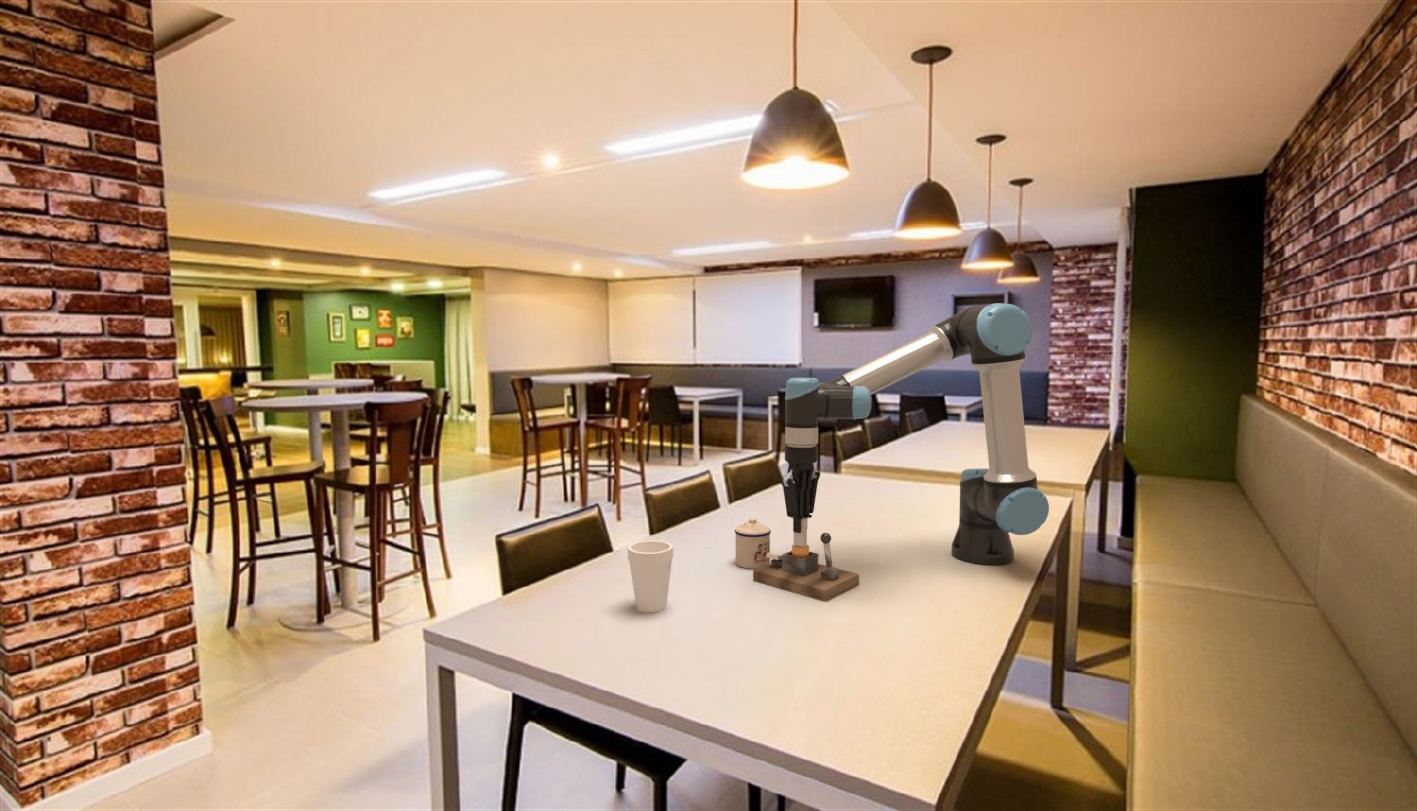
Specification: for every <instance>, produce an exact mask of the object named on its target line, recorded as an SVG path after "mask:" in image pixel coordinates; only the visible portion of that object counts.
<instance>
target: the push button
mask: <svg viewBox="0 0 1417 811" xmlns="http://www.w3.org/2000/svg"><path fill="white" fill-rule="evenodd" d="M791 551H792V556H795V557H799V558H806V557H808V556H809V552H810V545H808V544H807V546H805V547H800V546H796V545H793V544H792V545H791Z"/></svg>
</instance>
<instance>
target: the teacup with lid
mask: <svg viewBox="0 0 1417 811" xmlns="http://www.w3.org/2000/svg"><path fill="white" fill-rule="evenodd" d="M771 532H772V531H771V528H770V527H769V526H768V525H766V524H762V523H760V522H759V521H758V519H757V518H756V517H750V518H748V521H747V522H744V523H743V524H740V525H738V526H736V527H735V529H734V533H735V565H736V566H738V567H739V568H742V567H743V569H747V568H748V569H749V570H755V569H757V568H760V567H762V566H765V565H768V564H770V563H771V560H770V559H771V558H768V557H766V555H767V553H771V549H770V548H771V546H770V544H771V542H770V541H771Z"/></svg>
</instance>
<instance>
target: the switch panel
mask: <svg viewBox="0 0 1417 811" xmlns="http://www.w3.org/2000/svg"><path fill="white" fill-rule="evenodd" d="M786 552H787V551H786ZM752 581H754V582H756V583H760V584H764V585H768V586H770V587H774V588H777V589H781V590H785V591H787V592H792V593H795V594H798V595H802V596H805V597H809V598H812V599H815V600H819V601H821V602H822V601H823V602H824V603H825V602H828V601H830V600H832V599H834V598H836V597H838V596H840V595H842V594H844V593H846V592H847V591H849V590H851V589H853V588H856V587H857V586H859V585H860V573H856V572H851V571H848V570H844V569H840V568H837V567H836V568H835V567H833V566H832V568H831V569H828V568H827V567H826V564H825V565H824V564H820V563H819V553H817V552H813V551H809V556H808V557H806V558H799V557H795V556H792V550H791V551H788V552H787V553H785V554H782V559H781V560H775V559H772V558H771V560H770V564H768V565H765V566H762V567H760V568H757V569H752Z"/></svg>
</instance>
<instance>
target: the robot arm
mask: <svg viewBox="0 0 1417 811" xmlns="http://www.w3.org/2000/svg"><path fill="white" fill-rule="evenodd" d="M1032 325H1033V324H1032V321H1031V319H1030V317H1029V316H1028V314H1027V312H1025V310H1023V309H1022V308H1021V307H1019V306H1018V305H1015V304H1011V303H1002V302H1000V303H999V302H998V303H996V302H995V303H992V304H991V303H990V304H983V305H974V306H969V307H967V308H965V309H963V310H961V311H959V312H956V313H955V314H953V315H952V316H949V317H948V318H946V319H945V320H942V321H940V322H939V323H937V324H935V325H933V326H931V327H930V328H929V332H927V333H926V334H924V335H922V336H920V337H917V338H916V339H913V340H911V341H909V342H907V343H906V344H903V345H901V346H899V347H897V348H895V349H893V350H891V351H889V352H887V353H885V354H883V355H881V356H879V357H876V358H874V359H872V360H871V361H869V362H867V363H864V364H862V365H861V366H858V367H856V368H854V369H852V370H850V371H848V372H846V373H844V374H842V375H840V376H838V377H836V378H834V379H831V380H830V381H823V382H820V383H819V380H818V378H815V377H791V378H788V380H786V383H785V396H784V400H785V401H784V402H785V404H784V405H785V407H784V408H785V409H784V410H785V411H784V412H785V414H784V416H785V417H784V418H785V421H784V422H785V424H784V425H785V428H784V430H785V431H784V432H785V433H784V436H785V437H784V443H785V444H787V445H785V446H784V461H785V462H787V463H788V467H787V471H786V472H787V474H786V475H785V477H781V478H780V483H781V486H782V489H783V495H784V496H783V498H784V503H785V510H786V517H789V518H792V525H793V526H792V527H793V528H792V531H793V544H792V545H796V546H800V547H805V546H807V545H808V539H807V538H808V519H811V518H812V516H813V515H812V514H814V510H815V504H816V497H817V491H818V484H819V481H820V477H821V472H820V471H816V470H815V464H816V463H817V462H818V450H819V449H818V447H817V444H818V443H819V420H826V419H827V420H832V419H833V420H853V421H854V420H857V419H860V420H861V419H866V418H868V417H869V416H870V414H871V410H872V402H873V401H872V395H873V394H875V393H877V392H879V391H881V390H883V389H886V388H888V387H890V386H892V385H893V384H895V383H897V382H900V381H902V380H904V379H906V378H908V377H910V376H912V375H914V374H916V373H918V372H921V371H922V370H925V369H926V368H928V367H930V366H932V365H934V364H937V363H939V362H940V361H946V362H950V361H952V360H954V359H956V358H958V357H962V356H966V355H970V359H971V360H970V361H971V366H973V367H974V368H975V369H977V370H978V372H979V380H980V390H981V391H980V392H981V400H982V409H983V411H982V412H983V421H984V430H985V439H986V440H985V441H986V449H987V450H986V451H987V458H988V468H966V469H963V470H962V471H961V474H960V480H959V486H960V487H959V517H958V518H959V522H958V523H959V524H958V527H957V530H956V532H955V535H954V538H953V541H952V543H951V547H950V548H951V551H950V553H951V555H952V556H953V557H954V558H956V559H959V560H961V561H964V562H967V563H973V564H978V565H985V566H986V565H988V566H990V565H991V566H993V565H994V566H995V565H997V566H998V565H1006V564H1010V563H1012V562H1013V561H1014V559H1015V549H1014V547H1013V544H1012V539H1011V536H1010V534H1013V535H1017V536H1027V535H1030V534H1032V533H1034V532H1037V531H1038V530H1039V529H1040V528H1041V526H1042V525H1043V524H1044V523H1045V522H1046V521H1047V519H1048V516H1049V512H1050V504H1049V501H1048V498H1047V497H1046V495H1045V494H1044V492H1042V491H1041V490H1040V489H1039V488H1038V478H1037V473H1036V472H1035V471H1033V470H1032V469H1031V468H1030V467H1029V460H1028V458H1029V457H1028V449H1027V439H1026V427H1025V417H1024V409H1023V408H1024V405H1023V397H1022V387H1021V386H1022V385H1021V375H1020V366H1021V365H1022V364H1023V363H1024V362H1025V360H1026V352H1025V349H1026V348H1027V347H1028V345H1029V343H1030V342H1031V340H1032V338H1033V326H1032ZM1009 533H1010V534H1009Z"/></svg>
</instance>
